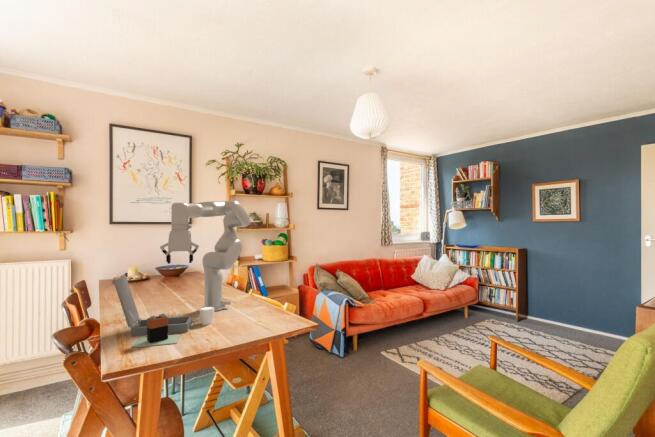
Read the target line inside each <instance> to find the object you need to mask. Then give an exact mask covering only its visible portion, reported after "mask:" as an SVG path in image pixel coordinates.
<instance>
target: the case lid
mask: <svg viewBox="0 0 655 437" xmlns="http://www.w3.org/2000/svg"><path fill="white" fill-rule="evenodd" d="M113 284H114V287H115V290H116V294H117V297H118V299H119V303H120V306H121V309H122V312H123V315H124V317H125V318H124V319H125V321H126V324H127V327H128V329H129V328H130V329H131V327H132V326H131V325H132V324H135V322H134V320H133V319H132V317H131V315H130V313H129V312H128V311H129V310H130V311H131V313H132V315H133V316H134V318H135V320H136V322H138V319H139V318H140V315H139V312H138V309H137V306H136V303H135V300H134V296H133V294H132V291H131V287H130V284H129V281H128V278H127V276H126V275H122V276H121V277H118V278H116V279H114V280H113Z"/></svg>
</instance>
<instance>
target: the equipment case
mask: <svg viewBox="0 0 655 437" xmlns="http://www.w3.org/2000/svg"><path fill="white" fill-rule="evenodd" d="M128 312H129V313H130V315H131V317H132V319H133V320H134V322H135V324H132V325H131V326H132V327H130V332H131V333H130V337H144V336H147V319H148V318H147V319H142V317H139V319H138V321H137V322H136V320H135V318H134V316H133V315H132V313H131V311H130V310H129V311H128ZM191 325H192V316H191V315H190V316H189V315H187V316H175V317H168V334H176V333H187V332H188V331H189V329H190V328H191Z"/></svg>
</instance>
